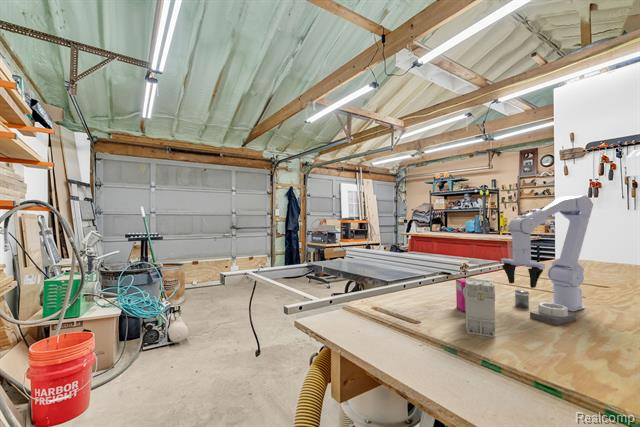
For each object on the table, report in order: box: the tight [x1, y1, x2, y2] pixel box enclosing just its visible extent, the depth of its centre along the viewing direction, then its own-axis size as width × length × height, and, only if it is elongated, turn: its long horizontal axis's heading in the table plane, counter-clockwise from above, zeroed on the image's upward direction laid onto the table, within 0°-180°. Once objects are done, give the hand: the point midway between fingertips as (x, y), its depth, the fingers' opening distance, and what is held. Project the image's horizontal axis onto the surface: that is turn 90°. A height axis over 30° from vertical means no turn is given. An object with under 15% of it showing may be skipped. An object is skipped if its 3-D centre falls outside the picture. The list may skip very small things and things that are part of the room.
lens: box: [514, 289, 530, 309], centre depth 113 cm, size 4×4×6 cm
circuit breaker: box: [464, 278, 496, 338], centre depth 92 cm, size 8×14×15 cm, turn 155°
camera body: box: [529, 302, 577, 326], centre depth 99 cm, size 12×8×4 cm, turn 115°
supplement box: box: [455, 278, 466, 313], centre depth 108 cm, size 6×6×12 cm
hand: (522, 285), depth 108 cm, fingers open, 7 cm apart
